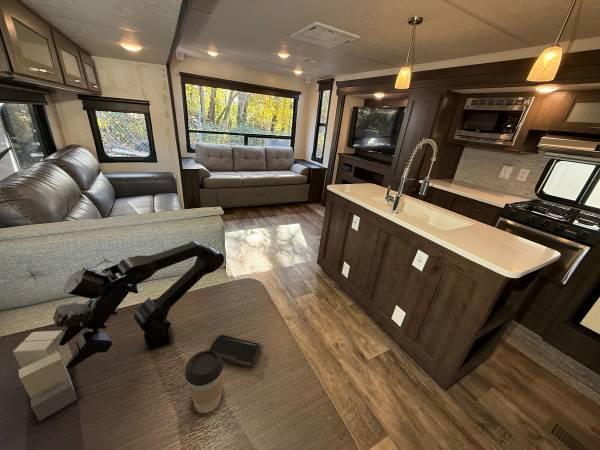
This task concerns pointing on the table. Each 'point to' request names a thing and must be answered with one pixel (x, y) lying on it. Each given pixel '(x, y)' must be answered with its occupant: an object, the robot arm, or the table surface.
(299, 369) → the table surface
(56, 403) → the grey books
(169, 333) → the robot arm
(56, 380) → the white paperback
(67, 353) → the white books
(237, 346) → the phone
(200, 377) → the coffee cup
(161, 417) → the table surface
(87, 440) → the table surface
